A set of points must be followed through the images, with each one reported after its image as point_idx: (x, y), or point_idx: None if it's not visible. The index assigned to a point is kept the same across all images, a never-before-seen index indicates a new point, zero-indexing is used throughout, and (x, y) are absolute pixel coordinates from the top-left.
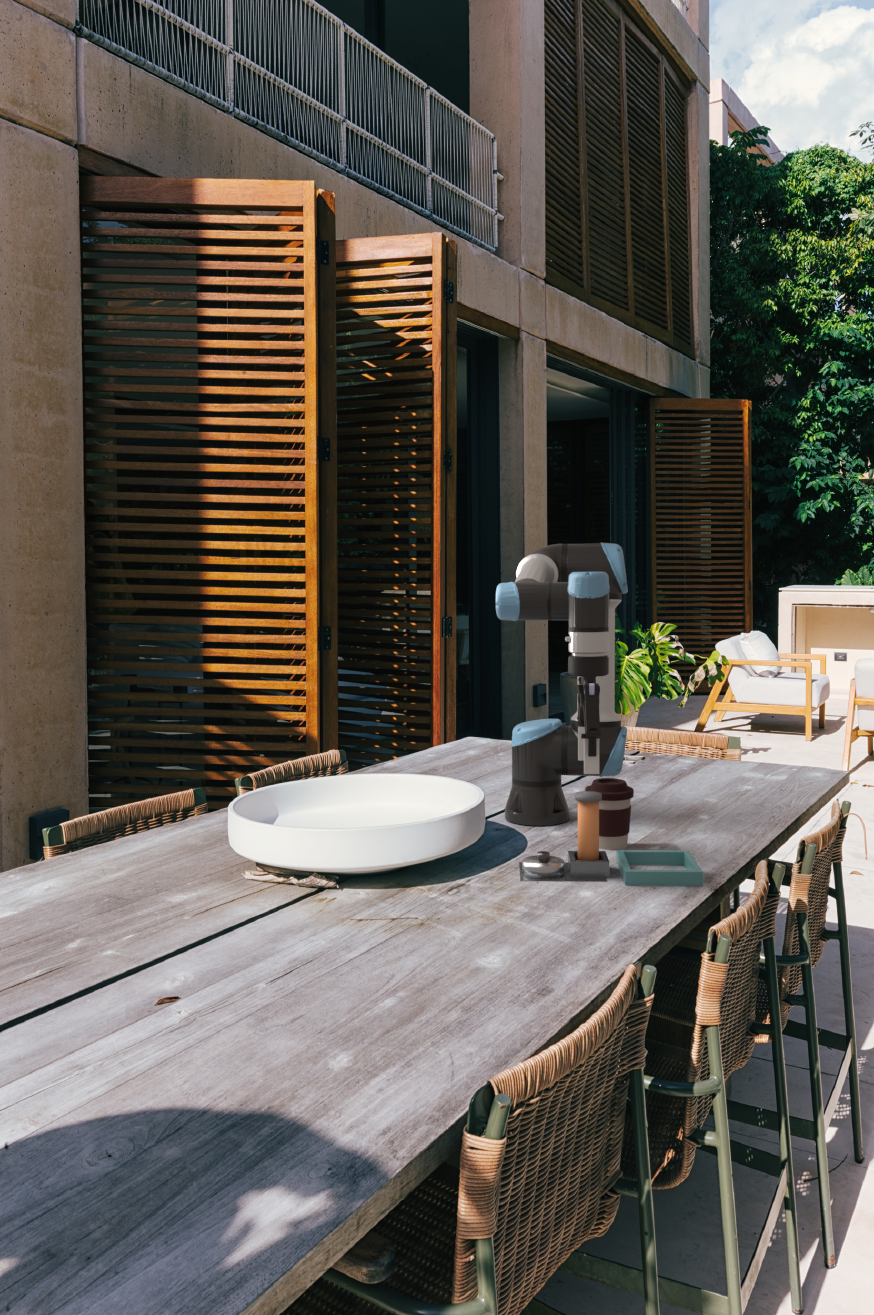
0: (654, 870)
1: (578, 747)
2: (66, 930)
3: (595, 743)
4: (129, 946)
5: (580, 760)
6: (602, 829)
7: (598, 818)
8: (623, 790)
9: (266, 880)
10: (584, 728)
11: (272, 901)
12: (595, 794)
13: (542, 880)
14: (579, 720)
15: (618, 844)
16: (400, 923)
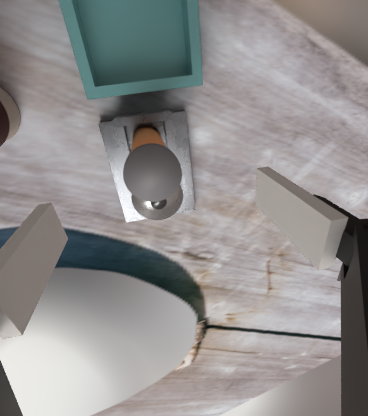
0: (192, 31)
1: (54, 266)
2: (275, 376)
3: (355, 219)
4: (297, 352)
5: (65, 234)
6: (4, 128)
7: (154, 141)
8: None
9: (193, 355)
10: (11, 311)
11: (234, 337)
12: (153, 160)
13: (191, 188)
14: (3, 369)
15: (1, 95)
16: (278, 266)
